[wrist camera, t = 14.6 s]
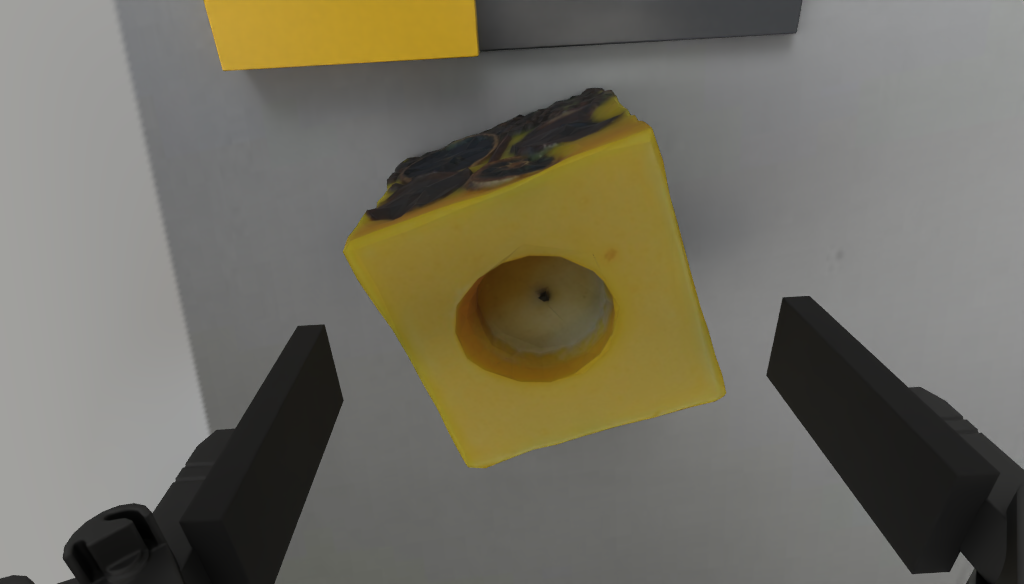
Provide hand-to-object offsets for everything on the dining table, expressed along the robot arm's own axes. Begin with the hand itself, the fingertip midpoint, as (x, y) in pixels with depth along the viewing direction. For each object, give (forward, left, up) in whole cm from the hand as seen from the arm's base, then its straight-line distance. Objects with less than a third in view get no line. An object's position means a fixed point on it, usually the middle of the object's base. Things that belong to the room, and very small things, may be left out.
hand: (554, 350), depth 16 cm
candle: (0, 0, -12) cm, 12 cm away
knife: (-6, +7, -12) cm, 14 cm away
